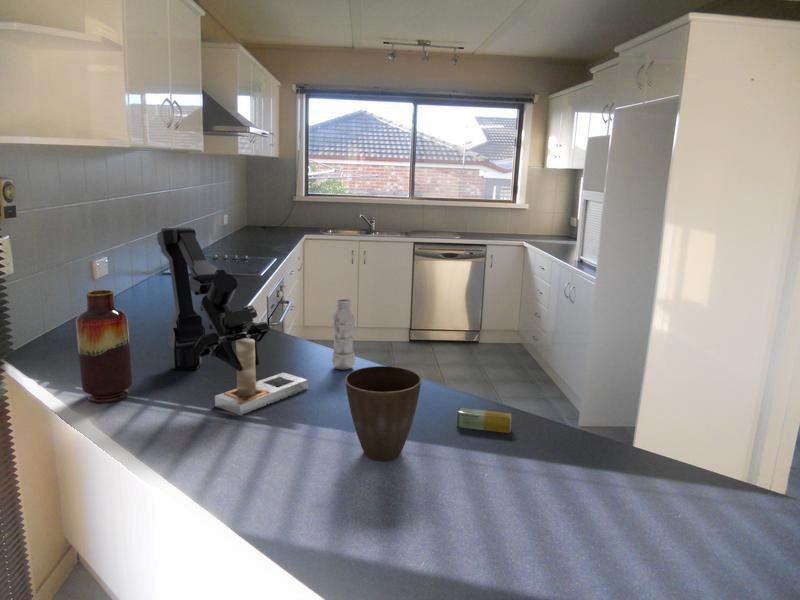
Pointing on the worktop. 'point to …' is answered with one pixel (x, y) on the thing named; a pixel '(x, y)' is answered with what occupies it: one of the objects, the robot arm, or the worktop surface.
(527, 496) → the worktop surface
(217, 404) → the white peg board
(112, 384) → the vase
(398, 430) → the plant pot
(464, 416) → the medication box
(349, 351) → the plastic bottle
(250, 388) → the maple peg
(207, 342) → the robot arm
